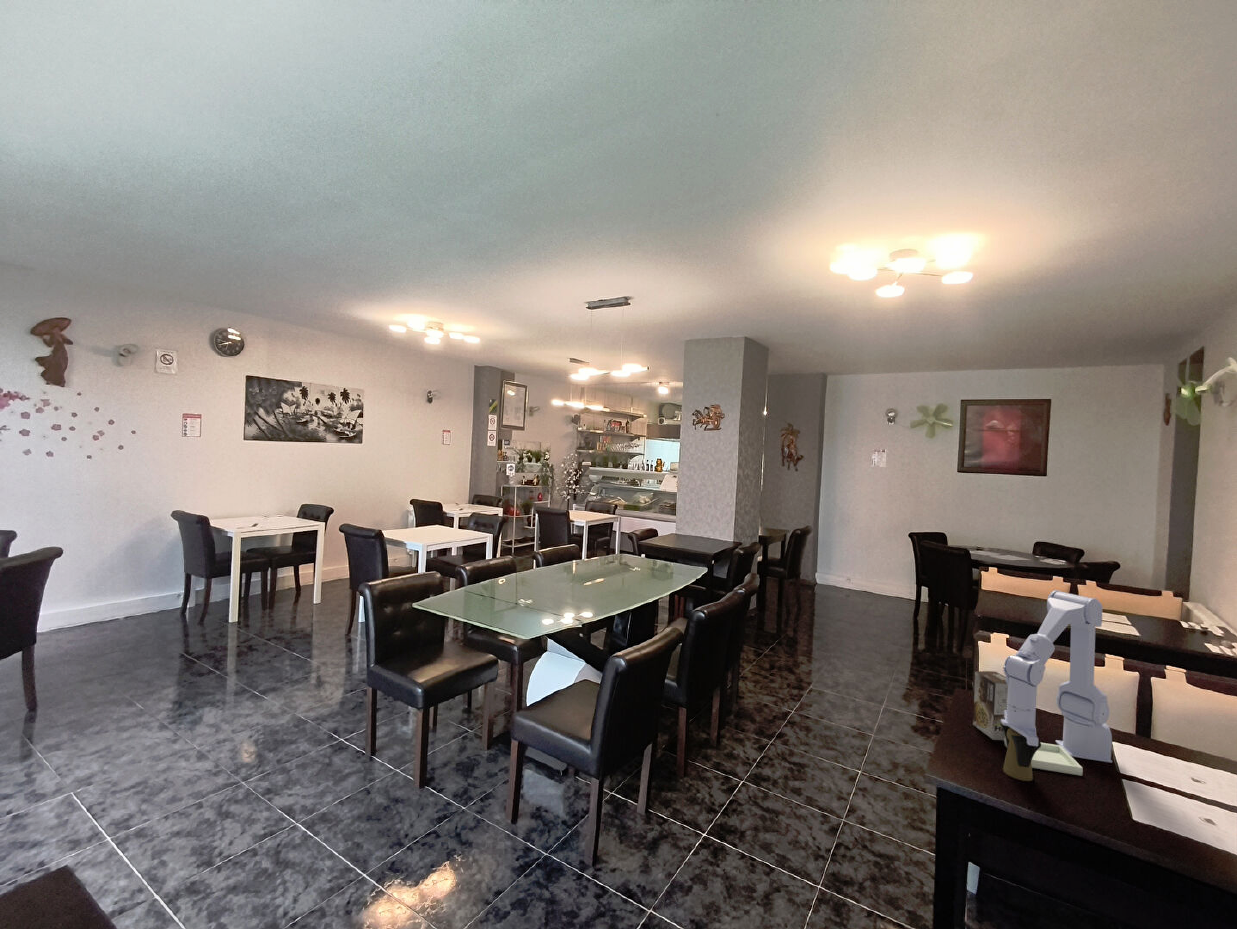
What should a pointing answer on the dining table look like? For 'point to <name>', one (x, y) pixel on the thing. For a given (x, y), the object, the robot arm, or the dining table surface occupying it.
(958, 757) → the dining table surface
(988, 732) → the coffee box
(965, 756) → the dining table surface
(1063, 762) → the tray
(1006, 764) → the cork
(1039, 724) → the dining table surface
